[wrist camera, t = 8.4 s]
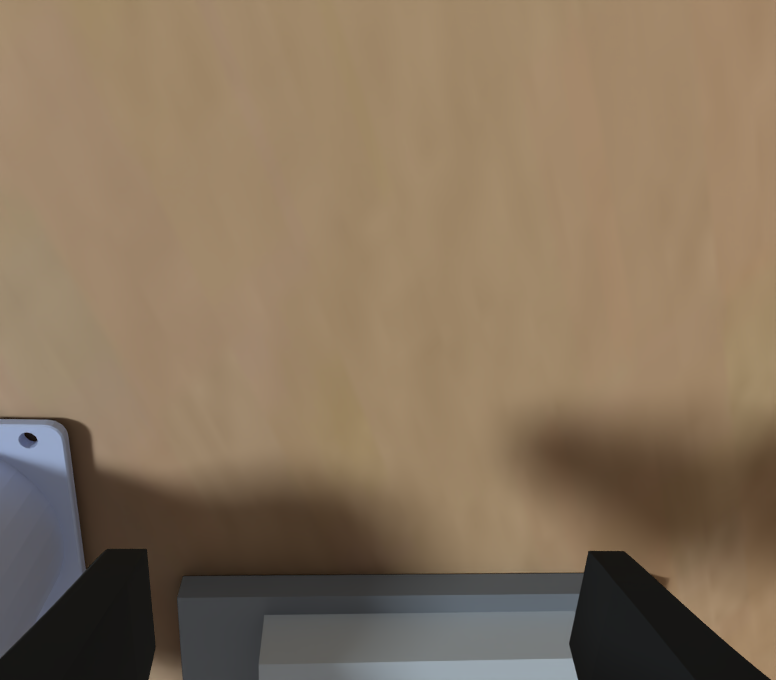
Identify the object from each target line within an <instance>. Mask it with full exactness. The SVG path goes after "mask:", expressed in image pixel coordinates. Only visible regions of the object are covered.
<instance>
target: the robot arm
mask: <svg viewBox="0 0 776 680" xmlns="http://www.w3.org/2000/svg"><path fill="white" fill-rule="evenodd" d="M26 432H27V433H32V434H33V435H34V436H36V438H37V440H38V441H30V440H29V439H27V438H26V437H25V435H24V433H26ZM569 646H570V650H571V654H572V658H573V662H574V666H575V670H576V674H577V678H578V680H771V679H769V678H768V677H767V676H766V675H764V674H763V673H762V672H761V671H759V670H758V669H757V668H756V667H754V666H753V665H752V664H751V663H750V662H748V661H747V660H746V659H745V658H744V657H742V656H741V655H740V654H739V653H738V652H737V651H735V650H734V649H733V648H732V647H731V646H730V645H728V644H727V643H726V642H725V641H724V640H723V639H721V638H720V637H719V636H718V635H717V634H716V633H715V632H713V631H712V630H711V629H710V628H709V627H708V626H707V625H706V624H704V623H703V622H702V621H701V620H700V619H699V618H698V617H697V616H695V615H694V614H693V613H692V612H691V611H690V610H689V609H688V608H687V607H685V606H684V605H683V604H682V603H681V602H680V601H679V600H678V599H677V598H676V597H675V596H673V595H672V594H671V593H670V592H669V591H668V590H667V589H666V588H665V587H664V586H662V585H661V584H660V583H659V582H658V581H657V580H656V579H655V578H654V577H653V576H652V575H650V574H649V573H648V572H647V571H646V570H645V569H644V568H643V567H642V566H640V565H639V564H638V563H637V562H636V561H635V560H634V559H633V558H631V557H630V556H629V555H628V554H627V553H626V552H624V551H589V552H588V557H587V561H586V566H585V571H584V575H583V580H582V585H581V589H580V594H579V599H578V603H577V608H576V613H575V618H574V622H573V627H572V632H571V636H570V641H569ZM155 647H156V646H155V635H154V624H153V613H152V602H151V591H150V580H149V569H148V558H147V549H107V550H105V551H104V552H103V553H102V554H101V555H100V556H99V557H98V558H97V559H96V560H95V561H94V562H93V563H92V564H91V565H90V566H89V568H88V569H87V570H86V567H85V560H84V552H83V544H82V537H81V529H80V521H79V514H78V506H77V499H76V491H75V483H74V476H73V468H72V460H71V453H70V445H69V437H68V433H67V430H66V428H65V427H64V426H63V425H62V424H60V423H58V422H56V421H53V420H36V419H0V680H148V679H149V675H150V670H151V666H152V661H153V656H154V652H155Z"/></svg>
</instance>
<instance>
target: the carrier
mask: <svg viewBox="0 0 776 680" xmlns="http://www.w3.org/2000/svg"><path fill="white" fill-rule="evenodd" d="M583 575H584V573H549V574H412V575H276V576H183V579H182V582H181V586H180V589H179V593H178V597H177V603H178V617H179V632H180V646H181V660H182V675H183V680H578V678H577V674H576V670H575V666H574V662H573V658H572V654H571V650H570V646H569V641H570V636H571V632H572V627H573V622H574V618H575V613H576V608H577V603H578V599H579V594H580V589H581V585H582V580H583Z"/></svg>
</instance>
